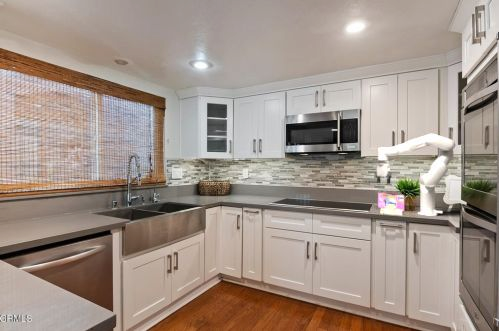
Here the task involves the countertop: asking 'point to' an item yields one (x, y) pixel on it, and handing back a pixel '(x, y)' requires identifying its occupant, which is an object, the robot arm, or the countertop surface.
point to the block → (390, 207)
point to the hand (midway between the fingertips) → (383, 183)
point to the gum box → (390, 200)
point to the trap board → (391, 211)
